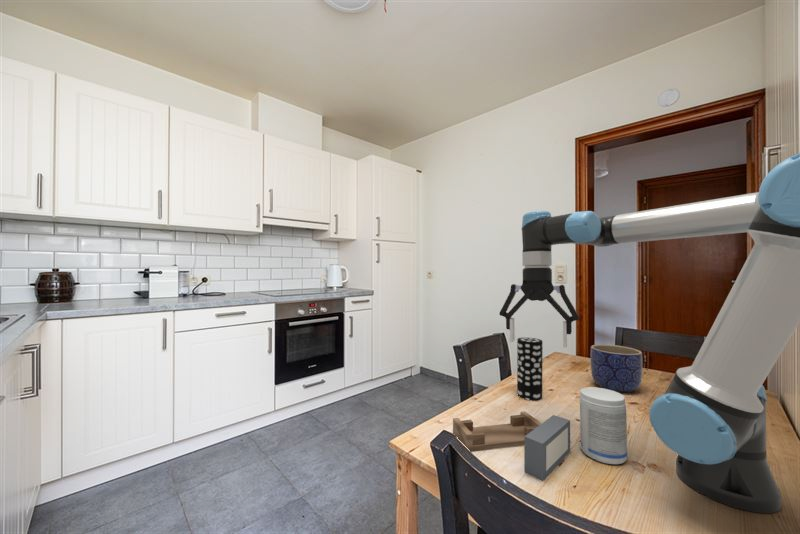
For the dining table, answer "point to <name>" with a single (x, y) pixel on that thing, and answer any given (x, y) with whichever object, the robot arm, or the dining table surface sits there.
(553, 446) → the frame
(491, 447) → the tray
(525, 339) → the spotted tube
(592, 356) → the planter
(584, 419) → the supplement tub
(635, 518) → the dining table surface
